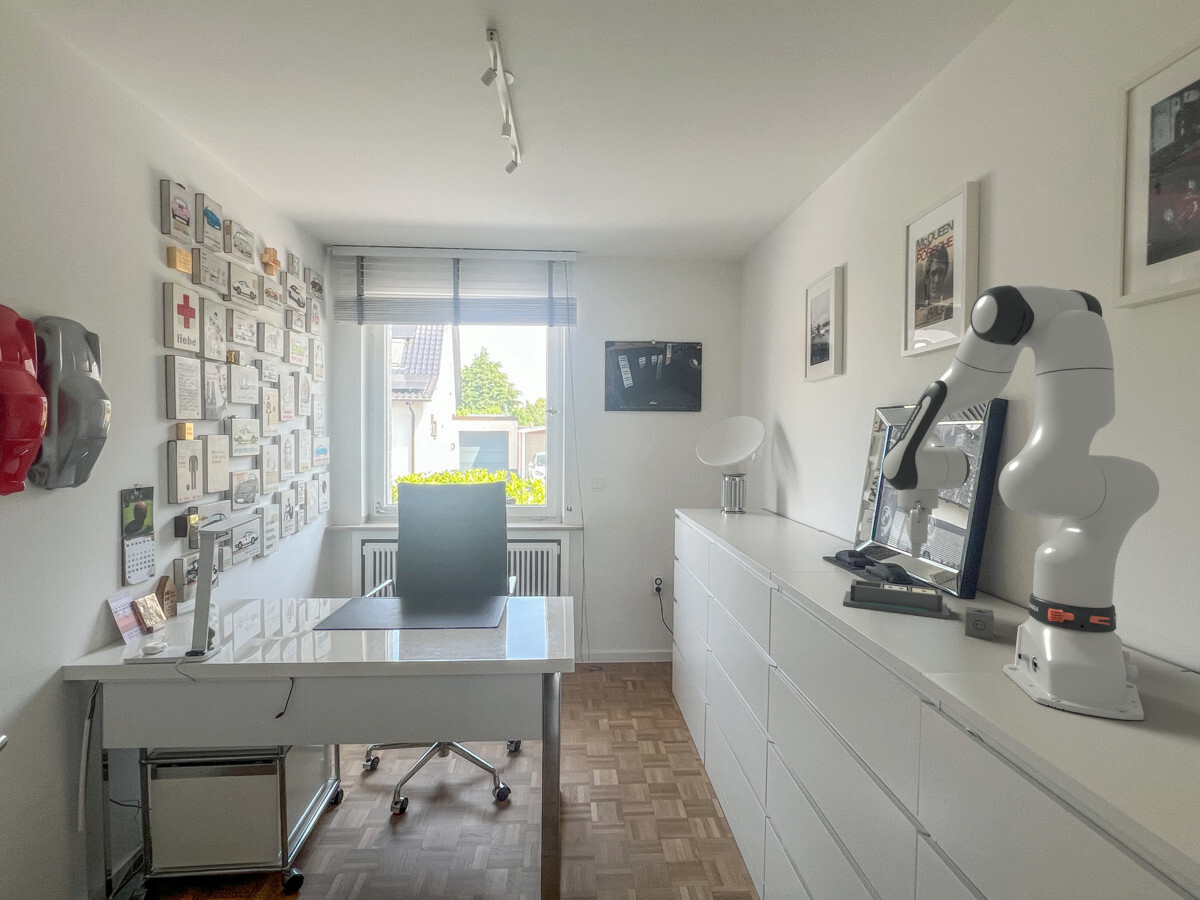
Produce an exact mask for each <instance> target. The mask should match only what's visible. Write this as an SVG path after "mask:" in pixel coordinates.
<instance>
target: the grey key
mask: <svg viewBox="0 0 1200 900" xmlns="http://www.w3.org/2000/svg"><path fill="white" fill-rule="evenodd" d="M884 588H886V589H894V590H903V591H907V587H900V586H891V585H884Z"/></svg>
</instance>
